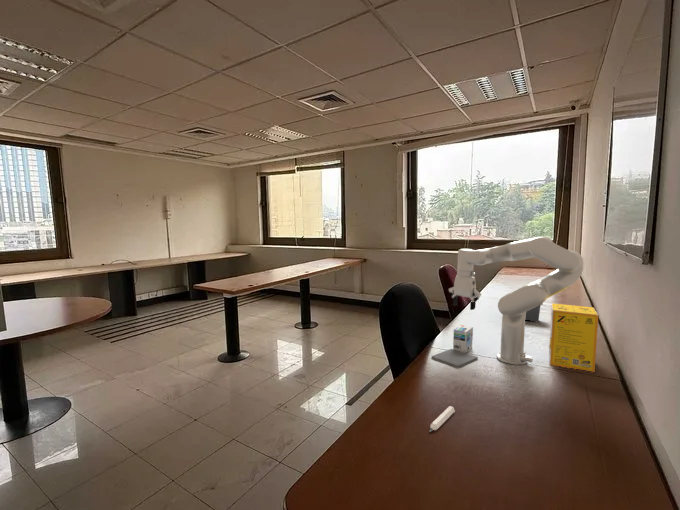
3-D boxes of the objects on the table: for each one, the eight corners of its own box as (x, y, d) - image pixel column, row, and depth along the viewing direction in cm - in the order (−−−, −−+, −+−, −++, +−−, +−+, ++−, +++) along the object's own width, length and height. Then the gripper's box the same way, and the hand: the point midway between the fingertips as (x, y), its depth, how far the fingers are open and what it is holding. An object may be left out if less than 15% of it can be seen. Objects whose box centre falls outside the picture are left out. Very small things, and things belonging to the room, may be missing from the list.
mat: (477, 359, 158) (477, 357, 158) (458, 368, 148) (458, 365, 148) (451, 350, 169) (451, 348, 169) (431, 358, 159) (431, 356, 159)
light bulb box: (466, 353, 165) (467, 331, 164) (452, 350, 169) (453, 329, 168) (472, 347, 174) (473, 326, 173) (459, 344, 178) (460, 324, 177)
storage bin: (505, 319, 226) (506, 298, 225) (507, 314, 240) (507, 294, 238) (542, 324, 216) (543, 302, 214) (542, 318, 229) (543, 297, 228)
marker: (428, 436, 101) (450, 413, 113) (434, 435, 100) (455, 412, 112) (424, 427, 102) (446, 405, 114) (430, 426, 100) (452, 404, 113)
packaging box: (548, 353, 166) (551, 303, 164) (589, 360, 157) (593, 307, 155) (549, 364, 152) (552, 310, 150) (594, 373, 143) (598, 315, 141)
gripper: (485, 275, 164) (483, 309, 166) (454, 271, 178) (452, 303, 179) (477, 276, 159) (475, 312, 161) (445, 272, 173) (444, 305, 174)
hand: (463, 307), depth 170 cm, fingers open, 9 cm apart
